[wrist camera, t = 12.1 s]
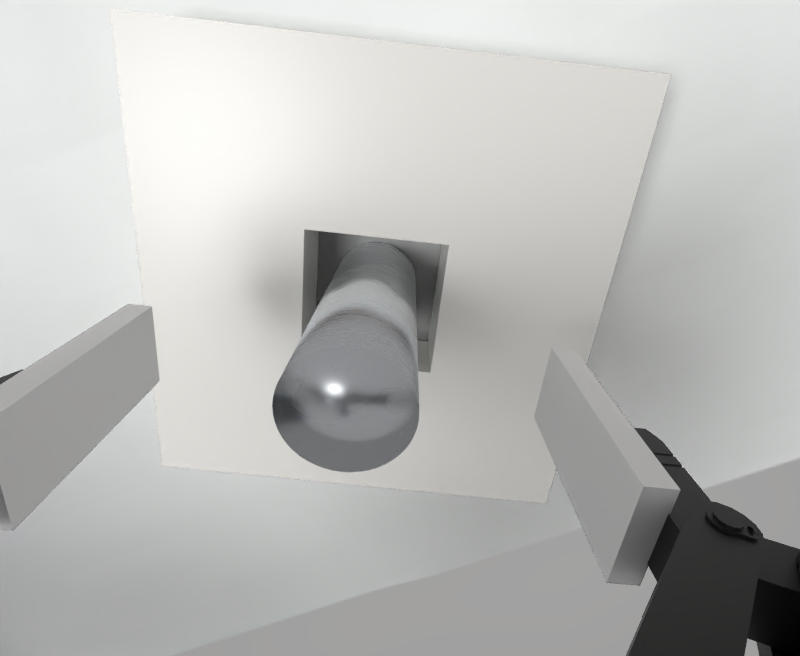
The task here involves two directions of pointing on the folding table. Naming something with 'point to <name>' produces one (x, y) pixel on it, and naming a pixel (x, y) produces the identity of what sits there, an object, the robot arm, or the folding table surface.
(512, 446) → the socket block
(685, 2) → the folding table surface
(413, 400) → the steel pin
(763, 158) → the folding table surface
